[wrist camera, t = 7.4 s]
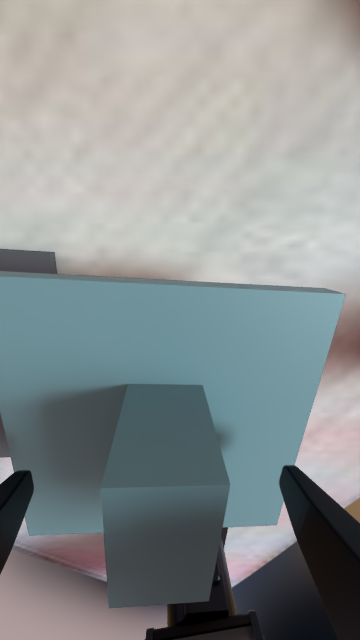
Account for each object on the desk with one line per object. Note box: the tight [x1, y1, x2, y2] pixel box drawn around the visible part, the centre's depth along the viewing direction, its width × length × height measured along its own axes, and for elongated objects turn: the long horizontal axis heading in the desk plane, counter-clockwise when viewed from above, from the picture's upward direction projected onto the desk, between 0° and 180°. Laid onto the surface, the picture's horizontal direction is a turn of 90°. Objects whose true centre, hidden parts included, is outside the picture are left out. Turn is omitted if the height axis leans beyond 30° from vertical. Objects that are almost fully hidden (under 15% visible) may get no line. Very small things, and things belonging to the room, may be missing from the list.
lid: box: [0, 271, 346, 608], centre depth 8 cm, size 13×13×5 cm
